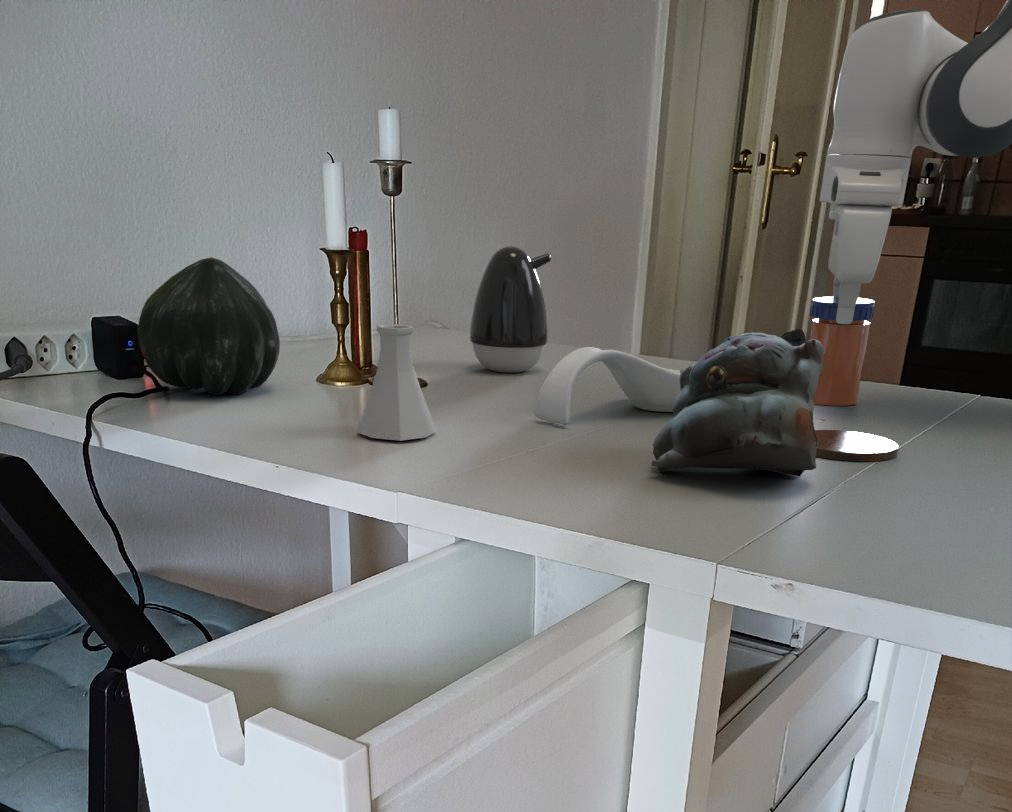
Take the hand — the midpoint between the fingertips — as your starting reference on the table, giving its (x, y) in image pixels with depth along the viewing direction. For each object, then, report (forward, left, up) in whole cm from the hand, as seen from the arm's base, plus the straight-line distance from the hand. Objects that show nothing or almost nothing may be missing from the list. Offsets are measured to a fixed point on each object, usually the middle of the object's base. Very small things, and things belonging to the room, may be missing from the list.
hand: (840, 319), depth 117 cm
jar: (0, 0, -9) cm, 9 cm away
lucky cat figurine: (+22, +34, -9) cm, 41 cm away
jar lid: (0, 0, +2) cm, 2 cm away
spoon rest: (+26, +9, -9) cm, 29 cm away
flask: (+51, +21, -10) cm, 56 cm away
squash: (+72, -1, -10) cm, 72 cm away
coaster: (+8, +25, -9) cm, 28 cm away
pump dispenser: (+37, -19, -9) cm, 42 cm away
